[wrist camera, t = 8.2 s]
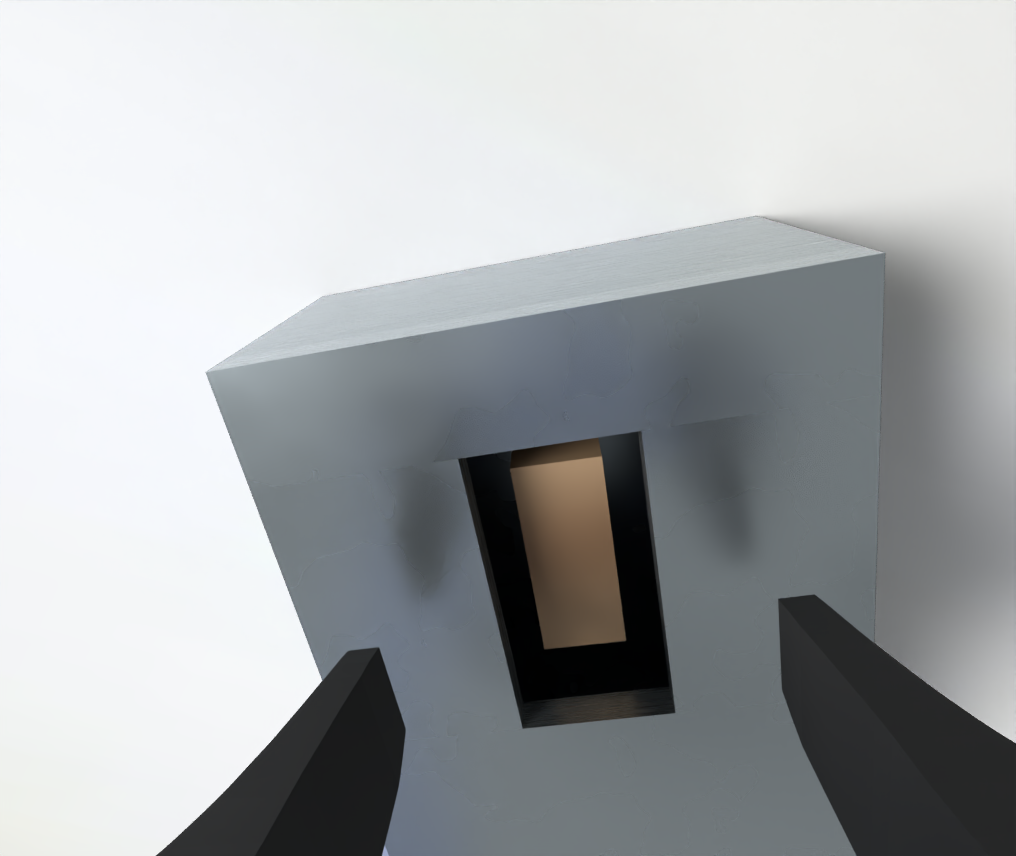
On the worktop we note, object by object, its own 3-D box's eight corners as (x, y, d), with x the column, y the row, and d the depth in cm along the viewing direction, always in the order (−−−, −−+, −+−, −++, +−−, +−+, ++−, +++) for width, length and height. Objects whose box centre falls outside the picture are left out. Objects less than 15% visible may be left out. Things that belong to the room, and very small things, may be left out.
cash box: (778, 724, 24) (865, 935, 17) (458, 756, 25) (429, 962, 19) (756, 215, 17) (884, 252, 11) (322, 296, 19) (205, 372, 12)
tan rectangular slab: (607, 531, 20) (626, 640, 16) (544, 539, 21) (544, 649, 16) (586, 382, 19) (602, 456, 14) (517, 392, 19) (510, 468, 14)
